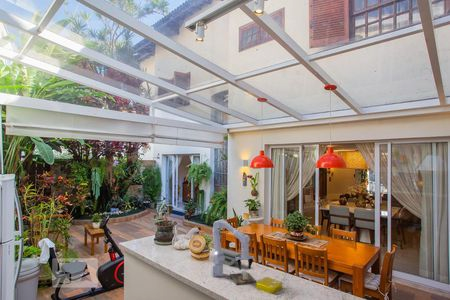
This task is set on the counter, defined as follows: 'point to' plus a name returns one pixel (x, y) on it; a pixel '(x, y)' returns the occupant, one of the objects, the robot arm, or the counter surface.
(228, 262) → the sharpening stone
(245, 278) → the steel peg
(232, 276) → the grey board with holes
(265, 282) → the element tile
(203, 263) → the counter surface
